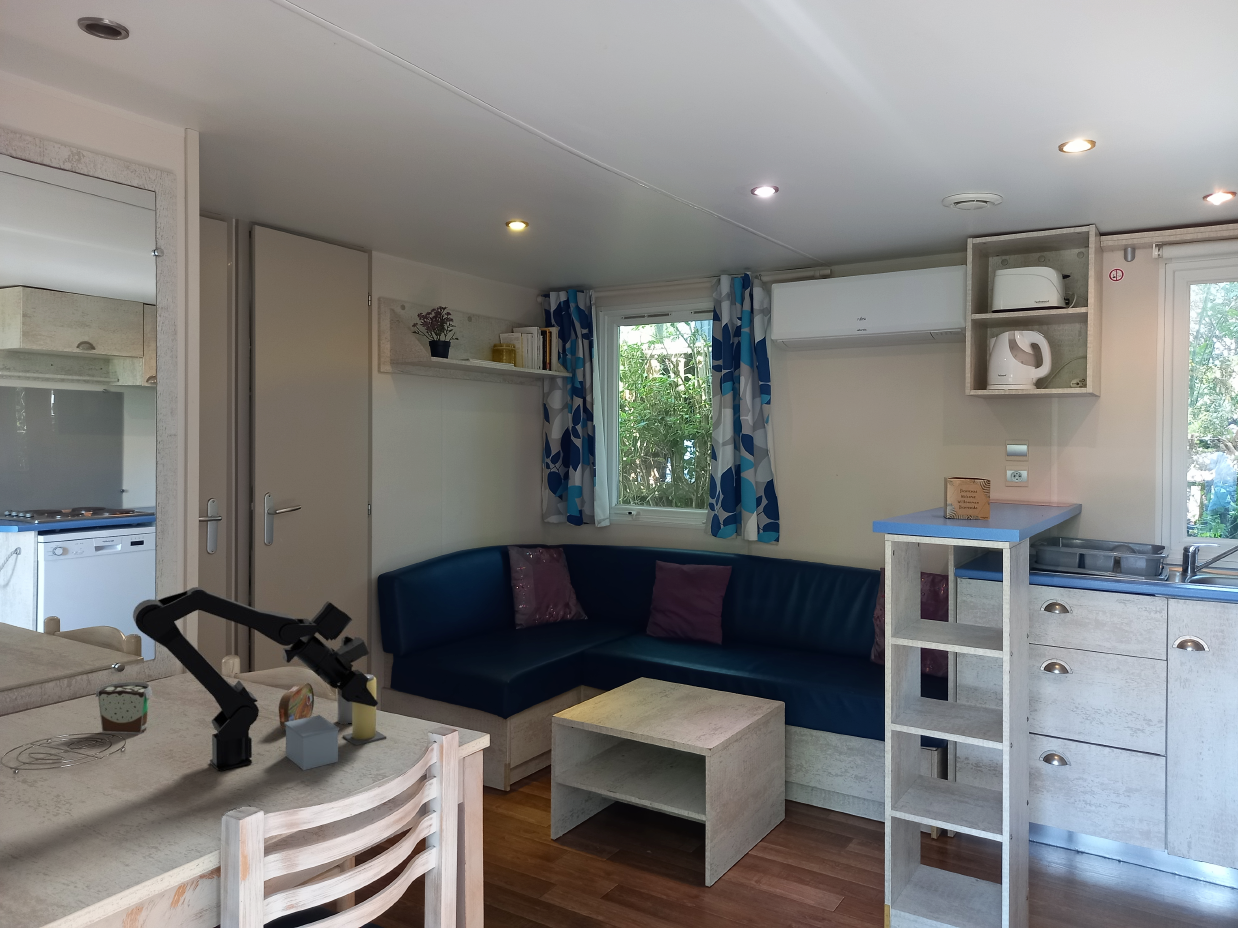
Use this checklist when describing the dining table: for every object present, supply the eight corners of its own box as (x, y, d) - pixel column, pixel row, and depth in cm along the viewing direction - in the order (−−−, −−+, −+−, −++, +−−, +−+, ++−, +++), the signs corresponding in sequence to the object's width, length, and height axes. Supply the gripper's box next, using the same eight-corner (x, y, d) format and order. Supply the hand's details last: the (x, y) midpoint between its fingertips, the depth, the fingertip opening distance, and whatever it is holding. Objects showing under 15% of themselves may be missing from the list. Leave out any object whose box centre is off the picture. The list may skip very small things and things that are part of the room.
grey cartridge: (342, 725, 196) (342, 684, 196) (334, 720, 200) (333, 679, 200) (363, 720, 199) (363, 680, 199) (354, 715, 203) (354, 675, 203)
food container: (164, 724, 197) (164, 681, 197) (147, 733, 191) (146, 689, 190) (114, 722, 198) (114, 680, 198) (95, 731, 192) (95, 687, 192)
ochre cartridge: (358, 741, 185) (358, 681, 185) (348, 735, 189) (348, 676, 188) (379, 736, 188) (380, 677, 188) (370, 730, 192) (370, 672, 192)
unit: (303, 770, 170) (302, 735, 169) (284, 755, 178) (284, 722, 177) (339, 761, 174) (339, 727, 174) (319, 747, 182) (319, 714, 182)
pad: (355, 745, 183) (355, 743, 183) (342, 736, 189) (342, 735, 189) (386, 738, 188) (386, 736, 188) (372, 729, 193) (372, 728, 193)
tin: (290, 734, 190) (289, 697, 190) (276, 734, 190) (275, 697, 190) (315, 713, 205) (315, 678, 205) (302, 713, 205) (302, 678, 205)
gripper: (358, 635, 178) (409, 680, 184) (333, 619, 193) (382, 661, 200) (319, 679, 174) (373, 723, 180) (297, 659, 189) (348, 700, 196)
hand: (370, 699), depth 189 cm, fingers open, 8 cm apart
